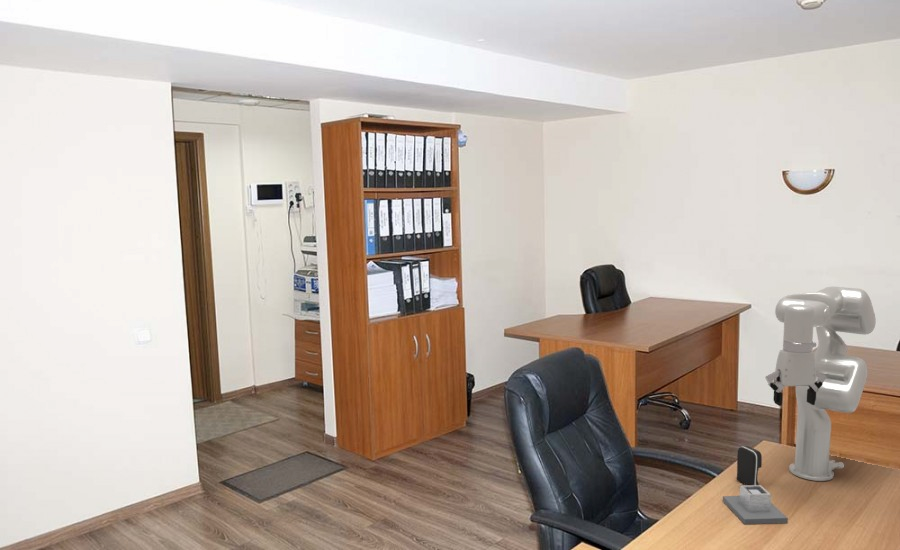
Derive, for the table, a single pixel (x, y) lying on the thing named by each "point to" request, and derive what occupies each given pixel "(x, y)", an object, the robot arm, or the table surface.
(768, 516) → the stand
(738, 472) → the battery charger
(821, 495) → the table surface
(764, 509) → the collar
